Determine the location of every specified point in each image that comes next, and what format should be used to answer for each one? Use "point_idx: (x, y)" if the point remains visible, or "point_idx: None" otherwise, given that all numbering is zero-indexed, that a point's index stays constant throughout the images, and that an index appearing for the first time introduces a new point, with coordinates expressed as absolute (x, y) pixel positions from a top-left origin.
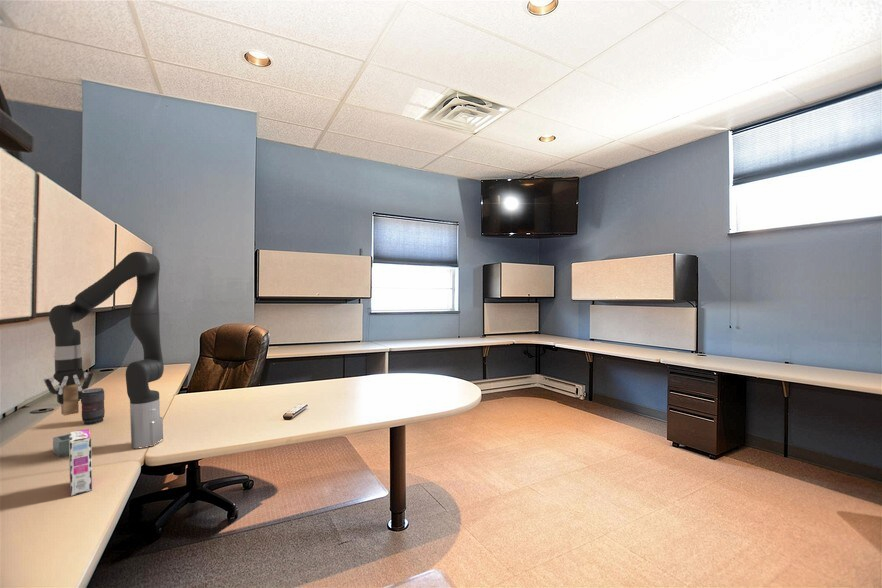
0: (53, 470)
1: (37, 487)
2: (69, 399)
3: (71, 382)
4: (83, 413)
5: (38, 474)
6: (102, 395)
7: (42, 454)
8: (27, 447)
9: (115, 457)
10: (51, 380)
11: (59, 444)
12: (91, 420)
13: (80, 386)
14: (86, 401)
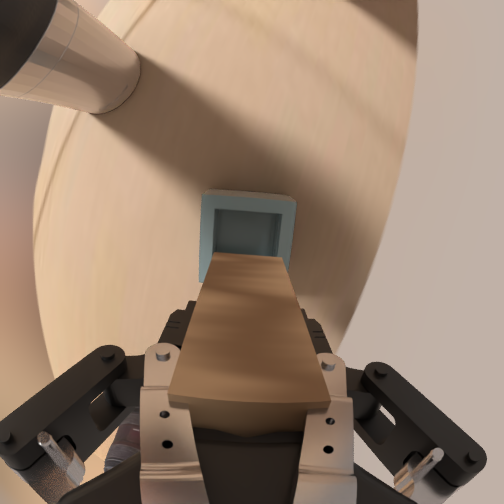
0: (332, 90)
1: (377, 25)
2: (260, 301)
3: (230, 446)
4: None
5: (361, 100)
6: (109, 453)
7: (301, 274)
8: None
9: (199, 37)
10: (430, 479)
11: (293, 200)
12: None
13: (149, 376)
14: None
